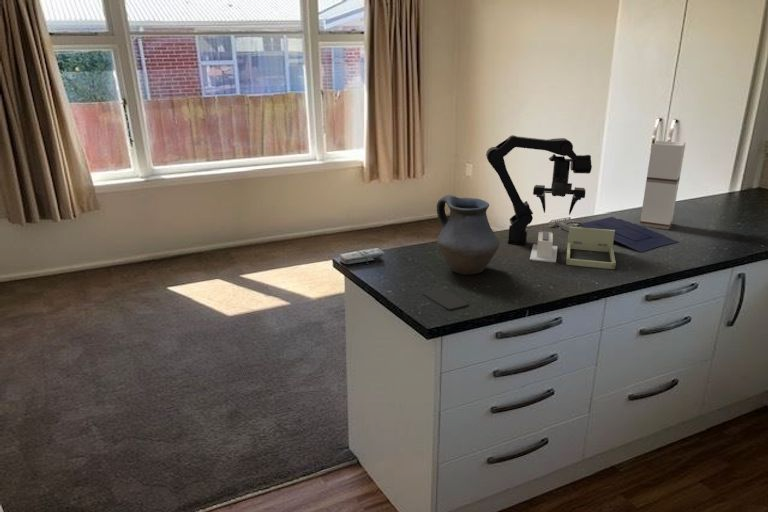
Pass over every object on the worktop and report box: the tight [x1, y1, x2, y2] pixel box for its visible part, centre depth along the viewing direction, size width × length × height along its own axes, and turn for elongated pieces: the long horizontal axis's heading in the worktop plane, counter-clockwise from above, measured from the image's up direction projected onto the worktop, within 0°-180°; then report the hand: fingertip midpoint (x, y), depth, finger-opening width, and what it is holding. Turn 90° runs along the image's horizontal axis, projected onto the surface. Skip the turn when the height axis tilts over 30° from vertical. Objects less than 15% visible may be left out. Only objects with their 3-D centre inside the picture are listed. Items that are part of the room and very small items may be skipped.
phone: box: [421, 287, 469, 311], centre depth 171 cm, size 7×1×15 cm
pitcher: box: [436, 194, 500, 276], centre depth 191 cm, size 21×22×25 cm
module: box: [537, 230, 554, 258], centre depth 210 cm, size 5×12×7 cm, turn 164°
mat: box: [529, 243, 559, 263], centre depth 211 cm, size 9×18×1 cm, turn 162°
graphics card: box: [548, 217, 586, 232], centre depth 240 cm, size 17×4×12 cm
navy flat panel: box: [580, 216, 679, 253], centre depth 230 cm, size 24×30×4 cm
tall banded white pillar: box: [639, 140, 686, 230], centre depth 242 cm, size 11×11×35 cm
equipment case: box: [565, 227, 617, 270], centre depth 206 cm, size 16×21×8 cm
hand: (556, 213), depth 219 cm, fingers open, 9 cm apart
